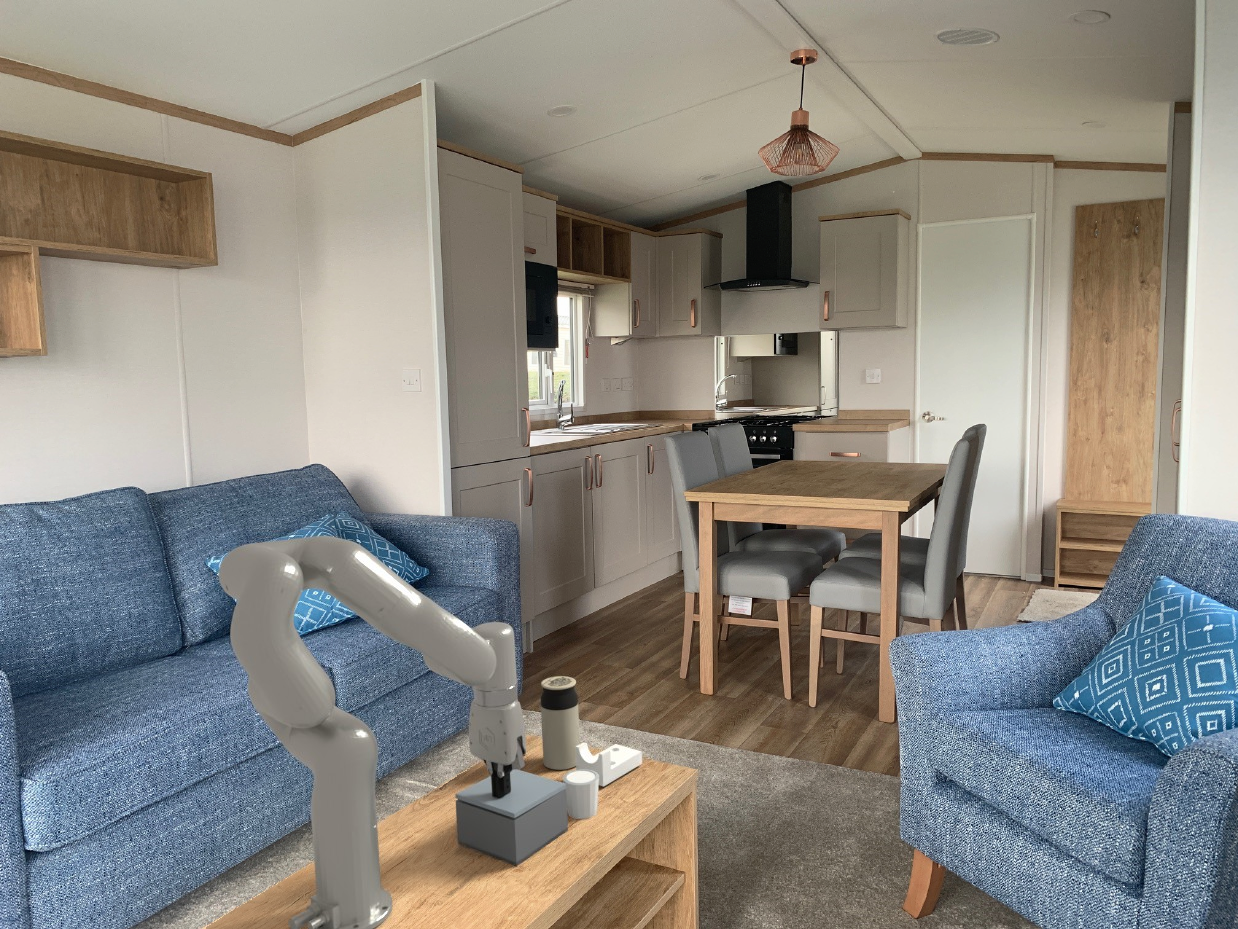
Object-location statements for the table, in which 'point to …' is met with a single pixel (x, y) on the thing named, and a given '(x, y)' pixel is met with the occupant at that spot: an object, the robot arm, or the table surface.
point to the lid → (512, 793)
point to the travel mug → (559, 722)
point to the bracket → (608, 761)
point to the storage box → (511, 829)
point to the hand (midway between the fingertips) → (501, 794)
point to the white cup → (581, 793)
